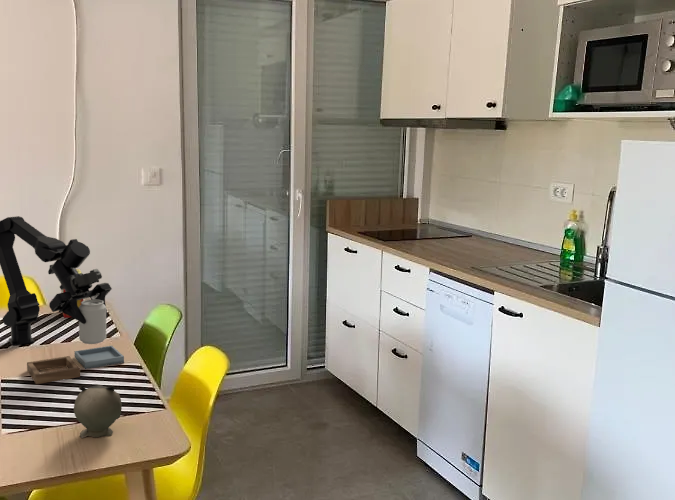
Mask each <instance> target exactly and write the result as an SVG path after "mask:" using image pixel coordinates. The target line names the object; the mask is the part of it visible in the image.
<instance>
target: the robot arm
mask: <svg viewBox="0 0 675 500" xmlns="http://www.w3.org/2000/svg"><path fill="white" fill-rule="evenodd" d="M16 236H17V237H18V238H20V239H21V240H22V241H24V242H25V243H27V244H28V245H29V246H31V248H33V249H34V254H35V255H36V256H37V257H38V258H39V259H40V260H41V261H42V262H44V263H50V262H54V263H52V264H50V265H49V269H48V271H47V273H48V275H53V274H54V275H55V276H56V278H57V280H58V282H59V283H60V285H59V288H60V291H61V290H62V289H65V291H66V292H63V293H61V292H59V293H56V294H55V296H53V298H52V299H51V301H50V302H49V304H48V305H49V307H48V308H50V310H51V312H52V313H55V312H59V313H62V314H63V313H64V314H67V315H69V316H71V317H70V318H72V319H74V320H75V321H78V323H79V322H81V323H83V324H85V323H86V320H85V317H84V316H83V314H82V312H81V311H80V309H79V307H78V306H77V300H81V299H83V300H85V299H90V300H91V299H97V300H102V301H104V303H103V304H104V305H105V306H106V307H107V305H106V296H107V295H108V294H109V293H110V292H111V291H112V290H113V288H112V286H111V284H109V283H108V282H102V283H100V279H102V278H103V275H102V273H101V271H100V270H99V268H95V269H92V270H90V271H89V272H87V273H80V274H79V273H78V272H77V270H76V269H79V267H81V265H82V264H83V263H84V262H85V260H86V259H87V258H88V257H89V256H90V255H91V250H90V248H89V246H87V245H86V244H85V243H84V242H80V241H79V240H78V239H77V238H74V239H70V240H69V241H68V243H67V245H66V243H65V242H64V241H63V240H60V239H58V238H56V237H52V236H51V237H50V236H47V235H45V234H43V233H42V232H41V231H40V230H38V229H37V228H35V226H32V225H31V224H30V223H28V222H27V221H26V220H25V219H24V218H23V217H22V216H17V215H16V216H10V217H9V216H7V217H6V218H3V219H1V220H0V269H1V272H2V274H3V277H4V281H5V284H6V287H7V290H8V292H9V298H8V302H7V310H8V311H7V312H6V313H5V315H4V316H3V317H2V321H3V325H5V326H8V327H10V333H11V334H10V338H8V342H9V343H10V344H11V346H18V345H25V344H26V345H27V344H33V343H35V340H34V339H33V337H32V324H31V323H34V322H38V318H39V313H40V311H41V310H40V302H39V301H38V297H37V295H36V293H34V292H33V293H31V292H30V291H29V290H28V289H27V287H26V283H25V280H24V277H23V274H22V271H21V269H20V268H21V267H20V265H19V261H18V259H17V257H16V253H15V251H14V243H15V241H16ZM95 283H98V284H96V285H95V286H94V287H93V284H95ZM92 287H93V288H92ZM91 288H92V289H91ZM90 289H91V290H90ZM108 316H109V315H108V310H107V308H106V318H108Z"/></svg>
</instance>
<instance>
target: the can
mask: <svg viewBox="0 0 675 500" xmlns="http://www.w3.org/2000/svg"><path fill="white" fill-rule="evenodd" d="M103 303H104V301H102V300H97V299H91V298H90V299H86V300H85V299H84V300H83V301H82V302H81V305H80V307H79V309H80V311H81V312H82V314H83V316H84V317H85V320H86V323H85V324H83V323H81V322H79V321H78V334H79V335H78V339H79V341H81V342H82V343H83V344H85V345H97V344H100V343H103V342H104V341H105V340H106V339H107V317H106V309H107V305H106V306H105V305H104V304H103Z"/></svg>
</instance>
